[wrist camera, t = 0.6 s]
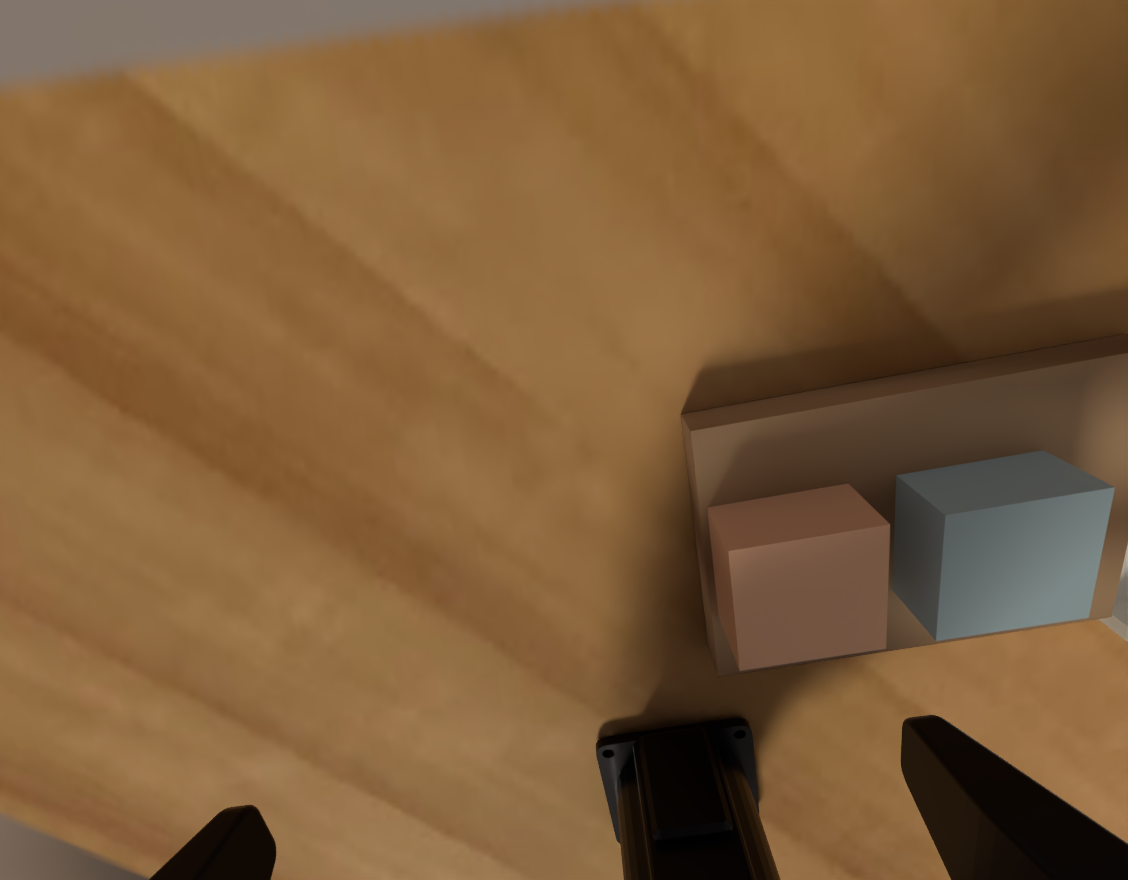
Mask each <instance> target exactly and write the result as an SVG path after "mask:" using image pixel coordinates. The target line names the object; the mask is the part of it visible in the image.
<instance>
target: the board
mask: <svg viewBox="0 0 1128 880" xmlns="http://www.w3.org/2000/svg"><path fill="white" fill-rule="evenodd" d="M681 420H682V429H683V437H684V445H685V454H686V462H687V471H688V479H689V487H690V496H691V504H692V512H693V521H694V529H695V537H696V546H697V554H698V563H699V571H700V579H701V588H702V596H703V604H704V613H705V621H706V629H707V638H708V646H709V650H710V653H711V656H712V659H713V662H714V665H715V668H716V671H717V674H718V677H721V676H728V675H734V674H741V673H747V672H754V671H761V670H767V669H774V668H780V667H787V666H793V665H800V664H807V663H813V662H820V661H826V660H833V659H839V658H846V657H853V656H859V655H866V654H872V653H879V652H885V651H892V650H899V649H905V648H912V647H918V646H925V645H932V644H938V643H945V642H951V641H958V640H964V639H971V638H978V637H984V636H991V635H997V634H1004V633H1010V632H1017V631H1024V630H1030V629H1037V628H1043V627H1050V626H1056V625H1063V624H1070V623H1076V622H1083V621H1089V620H1096V619H1103V618H1109V617H1112V612H1113V608H1114V603H1115V599H1116V594H1117V590H1118V585H1119V581H1120V576H1121V572H1122V567H1123V563H1124V558H1125V554H1126V549H1127V545H1128V335H1127V334H1122V335H1116V336H1111V337H1105V338H1100V339H1094V340H1089V341H1083V342H1077V343H1072V344H1066V345H1061V346H1055V347H1050V348H1044V349H1039V350H1033V351H1028V352H1022V353H1017V354H1011V355H1006V356H1000V357H995V358H989V359H984V360H978V361H973V362H967V363H961V364H956V365H950V366H945V367H939V368H934V369H928V370H923V371H917V372H912V373H906V374H901V375H895V376H890V377H884V378H879V379H873V380H868V381H862V382H857V383H851V384H845V385H840V386H834V387H829V388H823V389H818V390H812V391H807V392H801V393H796V394H790V395H785V396H779V397H774V398H768V399H763V400H757V401H752V402H746V403H740V404H735V405H729V406H724V407H718V408H713V409H707V410H702V411H696V412H691V413H685V414H681ZM1042 450H1044V451H1046V452H1048V453H1050V454H1052V455H1054V456H1056V457H1058V458H1059V459H1061V460H1063V461H1065V462H1067V463H1069V464H1071V465H1073V466H1075V467H1077V468H1079V469H1081V470H1083V471H1085V472H1087V473H1088V474H1090V475H1092V476H1094V477H1096V478H1098V479H1100V480H1102V481H1104V482H1106V483H1108V484H1110V485H1112V486H1114V487H1115V490H1114V495H1113V500H1112V505H1111V510H1110V515H1109V520H1108V525H1107V530H1106V535H1105V540H1104V545H1103V549H1102V554H1101V559H1100V564H1099V569H1098V574H1097V579H1096V584H1095V589H1094V594H1093V599H1092V604H1091V609H1090V614H1089V618H1084V619H1078V620H1071V621H1065V622H1058V623H1051V624H1045V625H1038V626H1032V627H1025V628H1019V629H1012V630H1006V631H999V632H992V633H986V634H979V635H973V636H966V637H960V638H953V639H946V640H940V641H935V639H934V638H933V637H932V636H931V635H930V634H929V632H928V631H927V630H926V629H925V628H924V627H923V625H922V624H921V623H920V622H919V621H918V620H917V618H916V617H915V616H914V615H913V614H912V613H911V611H910V610H909V609H908V608H907V607H906V606H905V604H904V603H903V602H902V601H901V600H900V599H899V597H898V596H897V595H896V594H895V593H894V592H893V590H892V580H893V553H894V526H895V499H896V475H901V474H907V473H913V472H919V471H924V470H930V469H936V468H942V467H948V466H954V465H960V464H965V463H971V462H977V461H983V460H989V459H995V458H1001V457H1007V456H1012V455H1018V454H1024V453H1030V452H1036V451H1042ZM842 484H849V485H850V486H851V487H852V488H853V489H854V490H856V491H857V492H858V493H859V494H860V495H861V496H862V497H863V498H864V499H865V500H866V501H867V502H868V503H869V504H870V505H871V506H872V507H873V508H874V509H875V510H876V511H877V512H878V513H879V514H880V515H881V516H882V517H883V518H884V519H885V520H886V521H887V522H888V523H889V524H890V547H889V577H888V607H887V637H886V649H881V650H874V651H868V652H861V653H855V654H848V655H841V656H835V657H828V658H822V659H815V660H809V661H802V662H795V663H789V664H782V665H776V666H769V667H763V668H756V669H750V670H743V671H740V670H739V668H738V665H737V663H736V660H735V658H734V655H733V652H732V650H731V647H730V645H729V642H728V639H727V637H726V634H725V632H724V629H723V627H722V624H721V621H720V619H719V613H718V604H717V595H716V585H715V576H714V567H713V558H712V548H711V539H710V530H709V521H708V511H707V507H713V506H719V505H725V504H731V503H737V502H743V501H748V500H754V499H760V498H766V497H772V496H778V495H784V494H789V493H795V492H801V491H807V490H813V489H819V488H825V487H831V486H836V485H842Z"/></svg>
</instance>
